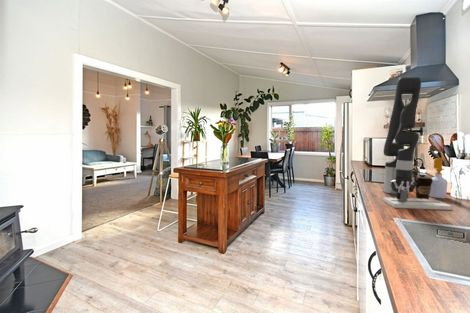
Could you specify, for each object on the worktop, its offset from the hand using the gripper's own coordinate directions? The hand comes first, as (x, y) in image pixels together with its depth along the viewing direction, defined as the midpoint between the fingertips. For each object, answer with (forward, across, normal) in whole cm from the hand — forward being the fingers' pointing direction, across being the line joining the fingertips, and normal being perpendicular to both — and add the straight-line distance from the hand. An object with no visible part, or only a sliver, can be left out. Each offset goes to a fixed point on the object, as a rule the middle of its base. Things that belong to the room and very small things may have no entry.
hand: (401, 199), depth 137 cm
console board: (+3, -7, 0) cm, 8 cm away
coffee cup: (+3, -20, -14) cm, 25 cm away
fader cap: (+1, 0, 0) cm, 1 cm away
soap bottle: (+3, -31, -21) cm, 38 cm away
